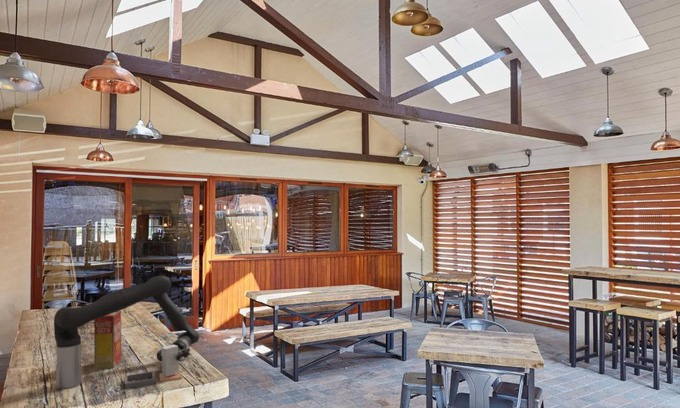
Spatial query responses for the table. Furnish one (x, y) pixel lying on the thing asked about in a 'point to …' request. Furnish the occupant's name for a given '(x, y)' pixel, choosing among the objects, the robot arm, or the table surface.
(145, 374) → the tray
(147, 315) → the table surface
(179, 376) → the tile
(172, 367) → the skincare box
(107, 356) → the food packaging
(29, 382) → the table surface
